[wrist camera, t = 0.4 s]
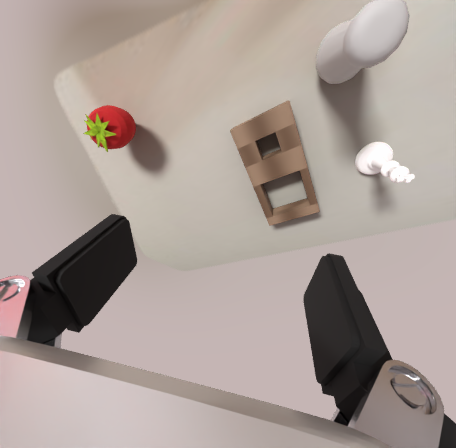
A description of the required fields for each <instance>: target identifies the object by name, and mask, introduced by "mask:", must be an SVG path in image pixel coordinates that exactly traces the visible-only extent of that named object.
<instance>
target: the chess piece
mask: <svg viewBox="0 0 456 448" xmlns="http://www.w3.org/2000/svg"><path fill="white" fill-rule="evenodd" d="M392 158H393V151H392V148H391V147H390V146H389V145H388V144H386V143H384V142H373V143H370V144H368V145H366V146H365V147H363V148H362V149H361V150H360V152H359V153H358V154H357V157H356V160H355V165H356V168H357V169H358V170H359V171H360V172H362V173H364V174H369V175H371V174H376V173H379V172H381V174H382V175H383V176H385V177H389V178H390V180H391V181H392V182H396V183H397V182H401V181H404V182H406V183H408V182H411V179H414V176H415V175H413V174H410V175H409V169H408V168H406V167H403V166H400V165H399V163H398V162H396V161H392Z"/></svg>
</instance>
